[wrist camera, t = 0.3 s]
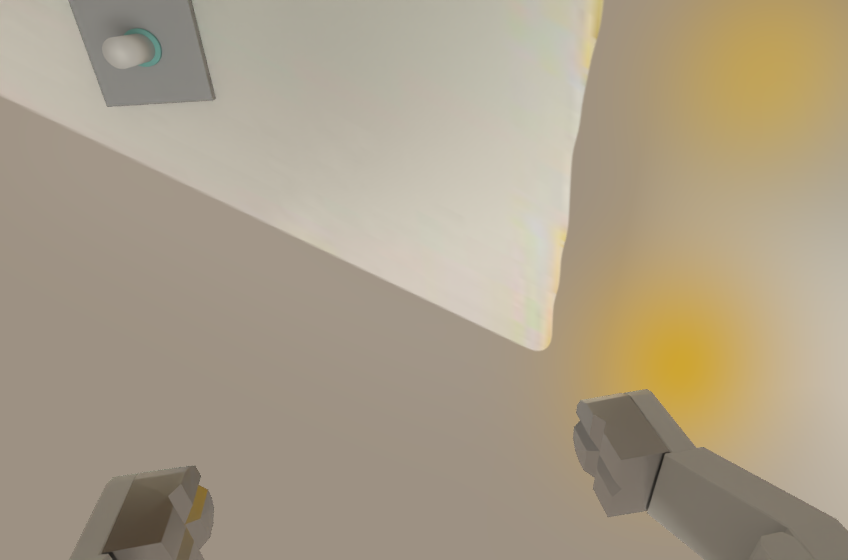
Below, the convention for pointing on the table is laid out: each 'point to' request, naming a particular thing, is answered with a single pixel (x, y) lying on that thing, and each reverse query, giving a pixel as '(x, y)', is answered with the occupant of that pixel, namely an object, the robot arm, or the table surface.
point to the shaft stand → (144, 50)
